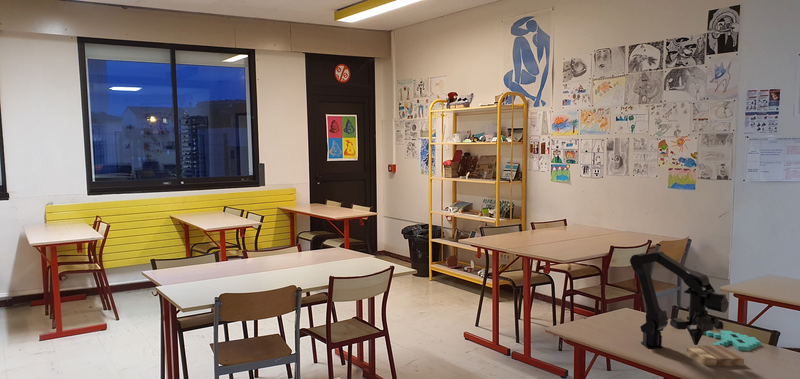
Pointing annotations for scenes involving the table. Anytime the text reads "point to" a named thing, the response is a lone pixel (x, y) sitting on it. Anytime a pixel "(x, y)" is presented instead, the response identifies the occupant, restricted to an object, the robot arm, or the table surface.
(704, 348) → the floor section
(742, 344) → the alien figure
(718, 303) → the robot arm
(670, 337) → the table surface
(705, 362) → the oak plank
